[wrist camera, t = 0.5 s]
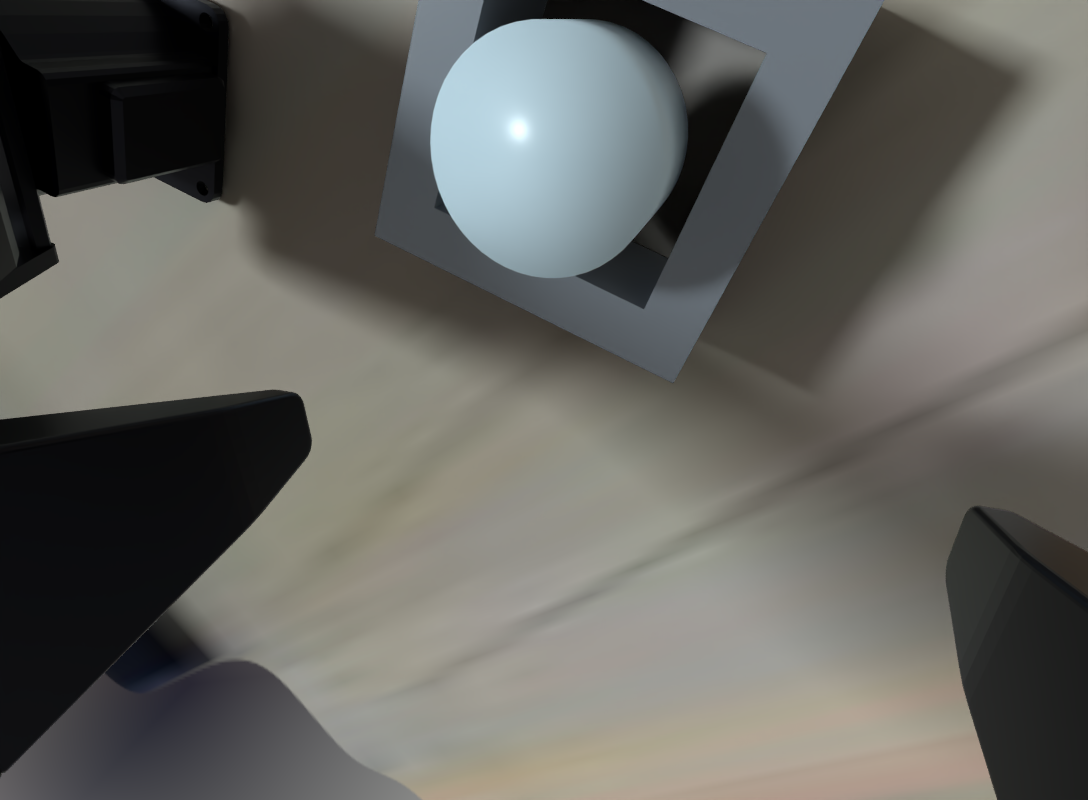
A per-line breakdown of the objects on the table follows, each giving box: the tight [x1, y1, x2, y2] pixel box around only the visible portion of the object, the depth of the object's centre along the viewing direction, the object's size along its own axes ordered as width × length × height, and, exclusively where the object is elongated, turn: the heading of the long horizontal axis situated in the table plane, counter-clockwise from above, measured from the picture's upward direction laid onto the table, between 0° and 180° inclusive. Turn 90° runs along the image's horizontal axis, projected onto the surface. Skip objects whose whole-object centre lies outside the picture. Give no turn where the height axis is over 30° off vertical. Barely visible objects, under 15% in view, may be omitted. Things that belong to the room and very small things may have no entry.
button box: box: [375, 0, 884, 383], centre depth 17 cm, size 9×9×4 cm
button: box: [430, 19, 688, 278], centre depth 14 cm, size 5×5×3 cm
